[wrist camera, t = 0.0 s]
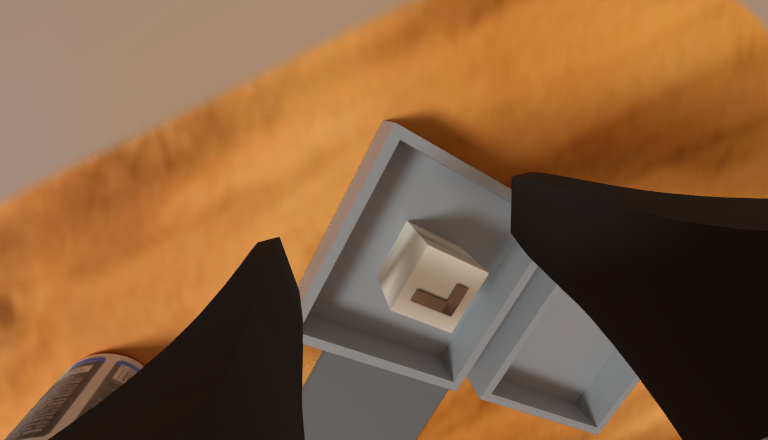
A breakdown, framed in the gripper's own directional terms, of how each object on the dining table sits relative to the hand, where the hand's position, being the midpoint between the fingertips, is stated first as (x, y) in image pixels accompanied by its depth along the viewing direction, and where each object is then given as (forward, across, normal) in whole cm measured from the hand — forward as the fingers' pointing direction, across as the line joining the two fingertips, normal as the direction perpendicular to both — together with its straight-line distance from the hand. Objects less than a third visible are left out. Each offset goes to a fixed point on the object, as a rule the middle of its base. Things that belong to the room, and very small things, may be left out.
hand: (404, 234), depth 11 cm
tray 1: (+9, -2, +8) cm, 12 cm away
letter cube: (+9, -2, +8) cm, 12 cm away
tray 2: (+8, -13, +17) cm, 23 cm away
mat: (+8, +4, +19) cm, 21 cm away
